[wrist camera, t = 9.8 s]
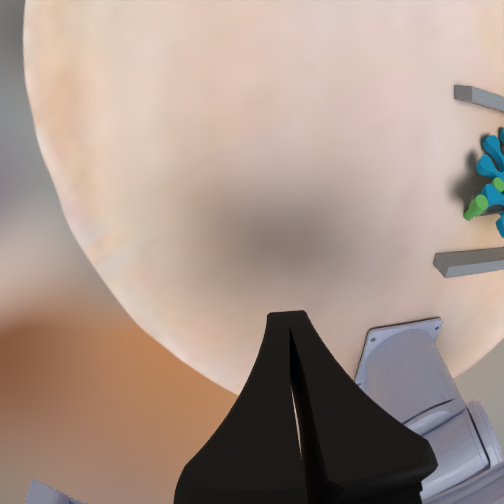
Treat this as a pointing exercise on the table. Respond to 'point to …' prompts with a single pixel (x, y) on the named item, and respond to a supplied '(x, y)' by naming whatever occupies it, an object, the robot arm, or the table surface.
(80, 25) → the table surface
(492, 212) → the gear
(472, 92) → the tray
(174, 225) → the table surface
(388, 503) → the robot arm
